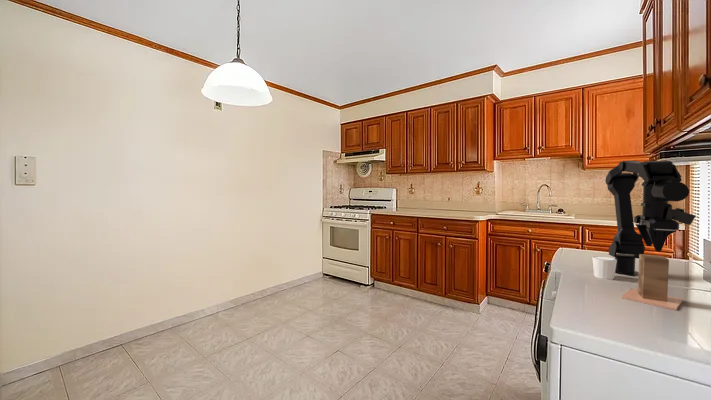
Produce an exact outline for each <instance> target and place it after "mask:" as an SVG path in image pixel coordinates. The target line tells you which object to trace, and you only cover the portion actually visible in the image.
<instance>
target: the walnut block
mask: <svg viewBox="0 0 711 400" xmlns="http://www.w3.org/2000/svg"><path fill="white" fill-rule="evenodd" d="M669 263H670V259H669V258H667V257H666V256H663V255H655V254H645V253H644V254H639V258H638V276H637V277H638V280H637V281H638V282H637V290H638V294H639V295H640V296H641V297H642V298H643V299H650V300H657V301H664V302H667V296H669V295H668V290H669V288H668V287H669V268H670V267H669V266H670V264H669Z"/></svg>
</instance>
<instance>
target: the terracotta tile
mask: <svg viewBox="0 0 711 400" xmlns="http://www.w3.org/2000/svg"><path fill="white" fill-rule="evenodd" d="M621 298H622V299H625V300H629V301H634V302H638V303H644V304H647V305H652V306H656V307H660V308H664V309H670V310H674V311H677V310H678V308H679V307H680V305H681V304H682V303H683V301H684V298H680V297H675V296H670V295H667V302H664V301H657V300H650V299H643V298H642V297H641V296H640V295H639V294H638V288H637V289H635V288H629V290H628V291H626V292H625V293H623V294H622V295H621Z"/></svg>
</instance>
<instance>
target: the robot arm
mask: <svg viewBox="0 0 711 400" xmlns="http://www.w3.org/2000/svg"><path fill="white" fill-rule="evenodd" d="M639 178H641V179H642V180H643V182H642V183H641V186H642V187H643V191H642V192H643V193H642V202H640V206H641V207H642V212H641V213H642V214H637V215H636V216H634V214H633V208H632V207H633V206H632V198H631V197H632V196H631V193H632V191H633V190H634V188H635V187H636V183H637V181H638V180H639ZM604 182H605V184H606V186H607V191H609V192H610V193H611V195H613V198H614V207H615V217H616V227H617V232H616V233H615V235H614V236H613V238H612V243H611V244H610V246H609V247H608V255H609V256H611V257H612V258H614V259H616V260H617V263H616V270H615V274H621V275H627V276H632V277H633V276H634V277H635V276H636V275H637V274H639V271H636V259H639V254H645V249H646V247H653V248H654V250H655V251H656V252H662V249H663V248H664V245H665V243H666V240H667V238H668V236H670V235H672V234H673V233H676V232H677V231H679V230H680V223H682V224H684V225H689V226H691V225H692V223H693V222H694V220H695V218H696V216H697V215H695V214H692V213H689V212H686V211H685V209H682V208H678V207H676V208H673V206H672V205H673V204H671V203H669V202H681V201H683V200H685V199H686V198H688V196H689V194H690V189H689V188H688V186H687V185H686V184H685V183H683V182H682V175H681V173H680V171H678V169H677V166H676V165H675V164H674V162H673V161H672V160H647V161H640V160H622V161H620V162H618V165H617V166H615V167H613V168H612V169H611V170H609V171H608V173H607V175H606V176H605V181H604ZM635 226H636V228H637V230H638V232H639V233H638V232H637V231H636V230H635ZM645 245H646V246H645Z"/></svg>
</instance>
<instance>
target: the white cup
mask: <svg viewBox="0 0 711 400" xmlns="http://www.w3.org/2000/svg"><path fill="white" fill-rule="evenodd" d="M591 258H592V267H593V269H592V270H593V277H595V278H597V279H602V280H615V274H616V273H615V270H616V263H617V260H616V259H615V257H609V256H598V255H597V256H596V255H595V256H592V257H591Z"/></svg>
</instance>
